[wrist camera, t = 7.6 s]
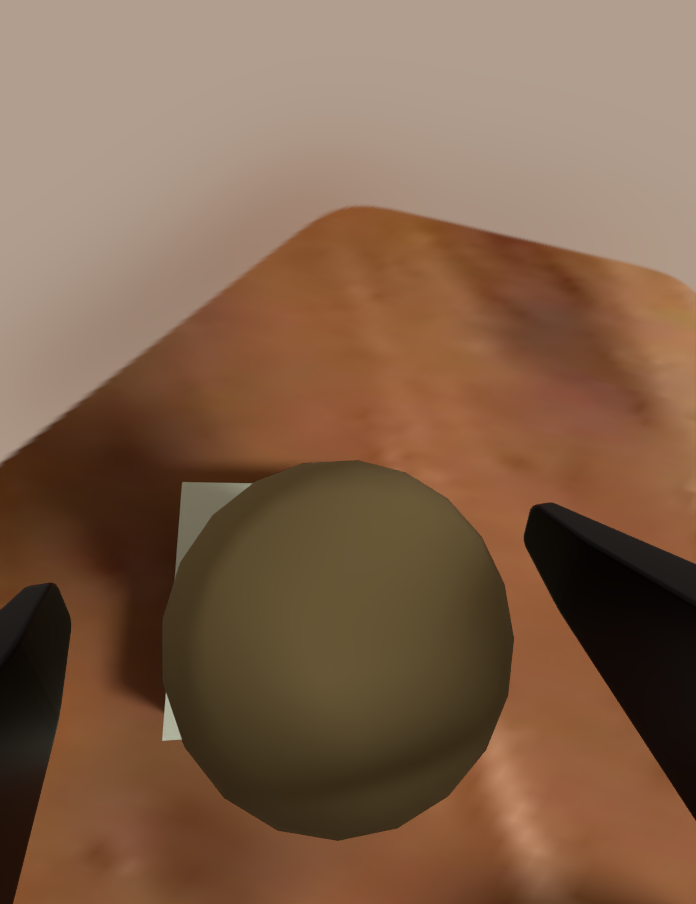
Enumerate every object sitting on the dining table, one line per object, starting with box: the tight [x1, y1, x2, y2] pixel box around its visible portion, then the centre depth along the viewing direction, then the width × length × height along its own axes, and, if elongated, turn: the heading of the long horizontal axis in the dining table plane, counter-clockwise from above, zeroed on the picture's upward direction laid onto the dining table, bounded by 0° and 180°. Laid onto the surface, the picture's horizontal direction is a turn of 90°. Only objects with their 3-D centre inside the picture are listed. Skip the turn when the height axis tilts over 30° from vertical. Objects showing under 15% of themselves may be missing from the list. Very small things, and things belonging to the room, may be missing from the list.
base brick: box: [162, 482, 253, 741], centre depth 17 cm, size 8×8×2 cm
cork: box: [162, 460, 514, 841], centre depth 11 cm, size 6×6×11 cm
